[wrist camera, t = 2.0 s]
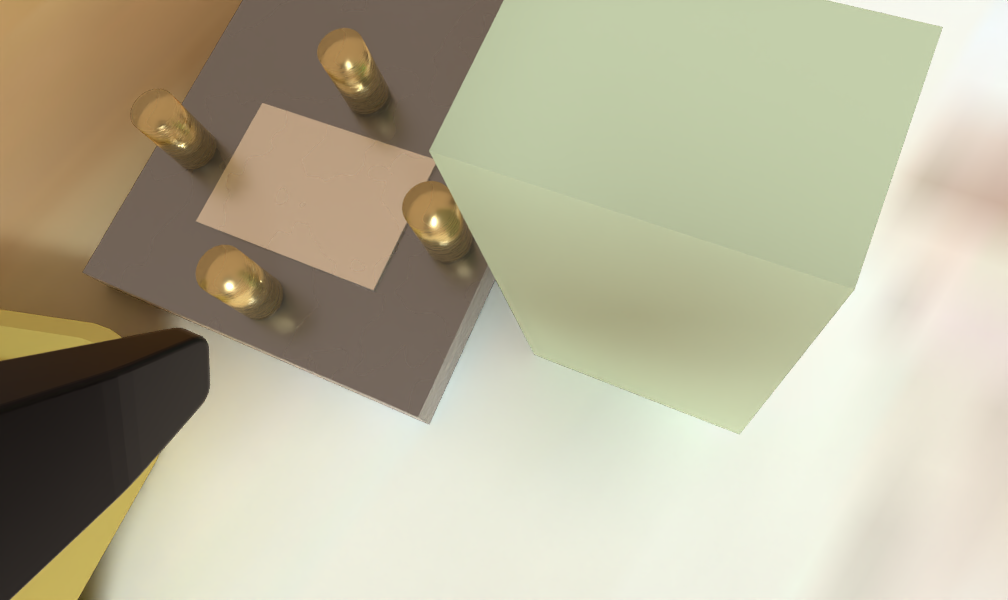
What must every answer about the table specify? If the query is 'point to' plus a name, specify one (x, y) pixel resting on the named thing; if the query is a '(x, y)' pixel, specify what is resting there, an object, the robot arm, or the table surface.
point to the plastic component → (68, 573)
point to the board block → (681, 181)
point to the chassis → (314, 195)
